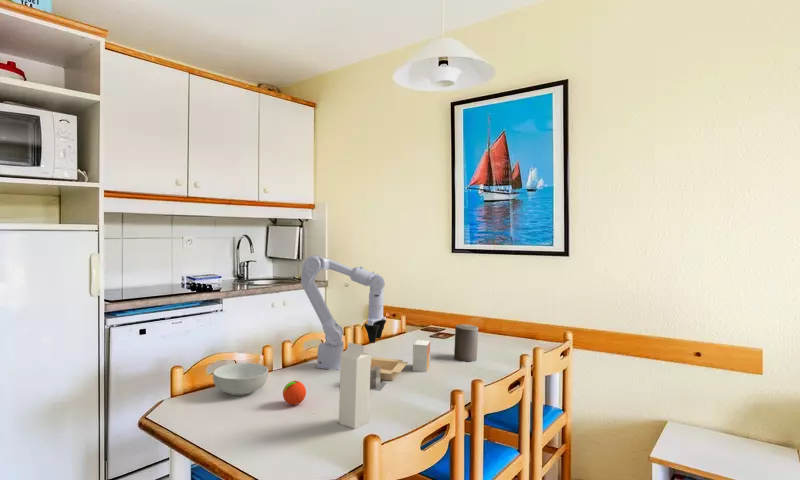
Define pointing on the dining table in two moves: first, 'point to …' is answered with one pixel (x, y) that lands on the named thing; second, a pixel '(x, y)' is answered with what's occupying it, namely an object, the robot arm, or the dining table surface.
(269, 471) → the dining table surface
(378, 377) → the block
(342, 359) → the milk
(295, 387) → the clementine
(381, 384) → the mat
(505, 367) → the dining table surface
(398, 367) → the tan shallow tray
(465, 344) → the pillar candle
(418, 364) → the small box
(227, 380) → the cereal bowl
